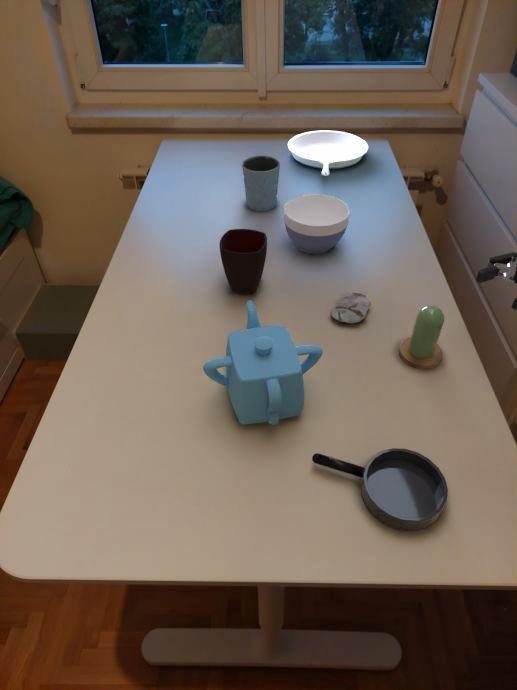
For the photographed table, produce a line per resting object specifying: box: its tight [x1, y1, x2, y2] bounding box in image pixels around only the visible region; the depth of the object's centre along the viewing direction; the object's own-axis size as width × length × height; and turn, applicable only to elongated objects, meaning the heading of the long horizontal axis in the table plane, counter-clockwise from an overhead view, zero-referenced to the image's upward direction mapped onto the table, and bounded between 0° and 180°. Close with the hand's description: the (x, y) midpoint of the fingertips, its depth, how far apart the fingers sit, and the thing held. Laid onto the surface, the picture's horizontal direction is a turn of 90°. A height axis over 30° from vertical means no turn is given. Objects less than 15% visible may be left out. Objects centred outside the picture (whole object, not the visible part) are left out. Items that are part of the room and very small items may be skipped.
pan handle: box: [311, 452, 365, 479], centre depth 77 cm, size 9×2×2 cm, turn 69°
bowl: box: [283, 193, 351, 255], centre depth 124 cm, size 16×16×10 cm
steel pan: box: [360, 447, 449, 532], centre depth 75 cm, size 12×12×3 cm
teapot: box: [202, 300, 323, 426], centre depth 86 cm, size 18×16×14 cm
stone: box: [330, 292, 372, 324], centre depth 106 cm, size 10×7×3 cm
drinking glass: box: [241, 155, 281, 212], centre depth 138 cm, size 10×10×12 cm
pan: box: [287, 129, 369, 177], centre depth 161 cm, size 26×39×5 cm
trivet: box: [398, 337, 443, 370], centre depth 97 cm, size 8×8×1 cm
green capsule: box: [408, 304, 445, 359], centre depth 93 cm, size 5×5×10 cm
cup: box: [218, 228, 268, 295], centre depth 111 cm, size 10×14×12 cm
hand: (495, 290), depth 86 cm, fingers open, 8 cm apart
